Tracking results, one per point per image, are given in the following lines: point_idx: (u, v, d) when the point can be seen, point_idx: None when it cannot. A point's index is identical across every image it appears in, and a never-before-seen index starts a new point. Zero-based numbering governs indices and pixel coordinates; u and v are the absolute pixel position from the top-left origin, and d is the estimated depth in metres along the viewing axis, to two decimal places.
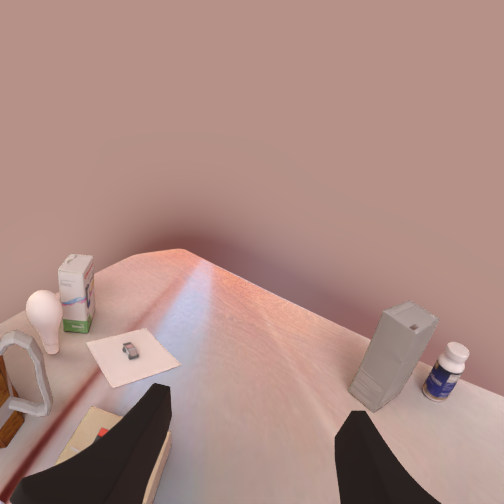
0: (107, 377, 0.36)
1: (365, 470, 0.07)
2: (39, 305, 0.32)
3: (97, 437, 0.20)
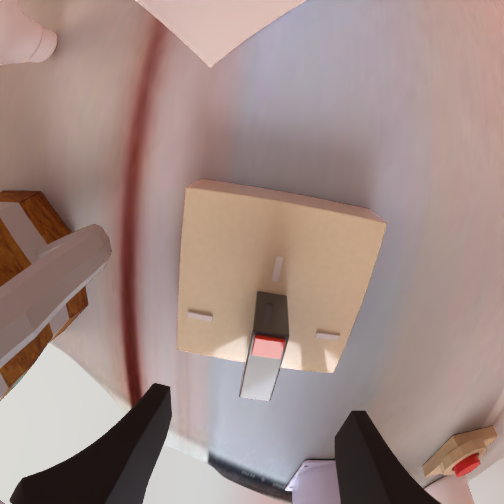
0: (187, 40, 0.13)
1: (365, 470, 0.07)
2: None
3: (251, 355, 0.13)
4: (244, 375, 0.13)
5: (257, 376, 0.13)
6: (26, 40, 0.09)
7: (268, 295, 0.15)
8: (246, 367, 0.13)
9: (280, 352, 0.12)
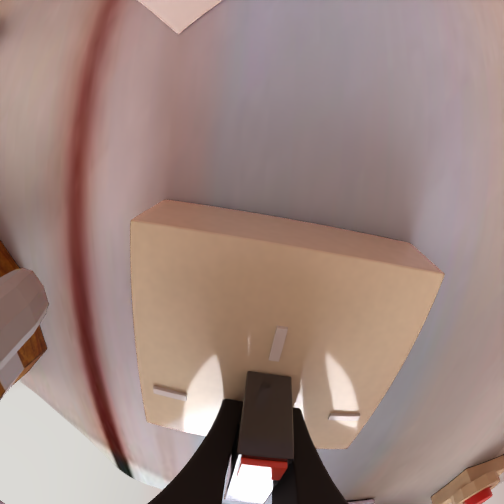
0: (147, 1, 0.08)
1: (287, 471, 0.07)
2: None
3: None
4: (229, 485, 0.08)
5: (246, 488, 0.08)
6: None
7: (263, 380, 0.09)
8: (231, 481, 0.07)
9: (279, 475, 0.07)
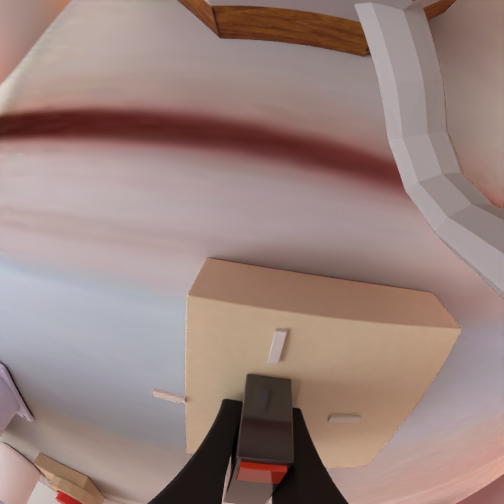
0: None
1: None
2: None
3: None
4: (228, 489, 0.08)
5: (246, 491, 0.07)
6: None
7: (262, 382, 0.09)
8: (230, 484, 0.07)
9: (279, 479, 0.07)
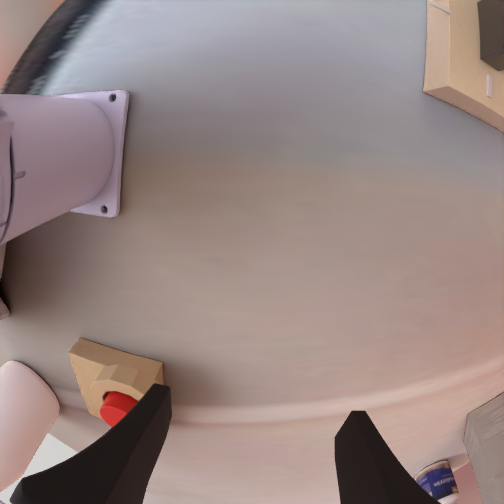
0: None
1: (365, 470, 0.07)
2: None
3: None
4: None
5: None
6: None
7: (486, 5, 0.07)
8: None
9: None
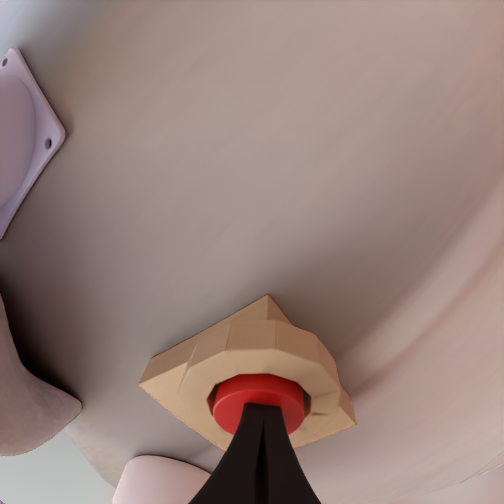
0: None
1: (263, 469, 0.07)
2: None
3: None
4: None
5: None
6: None
7: None
8: None
9: None
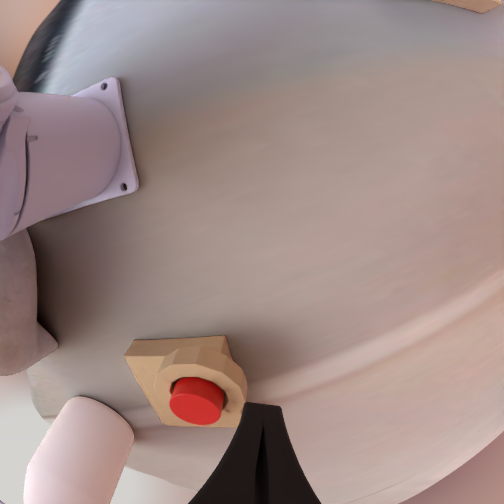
0: None
1: (263, 469, 0.07)
2: None
3: None
4: None
5: None
6: None
7: None
8: None
9: None
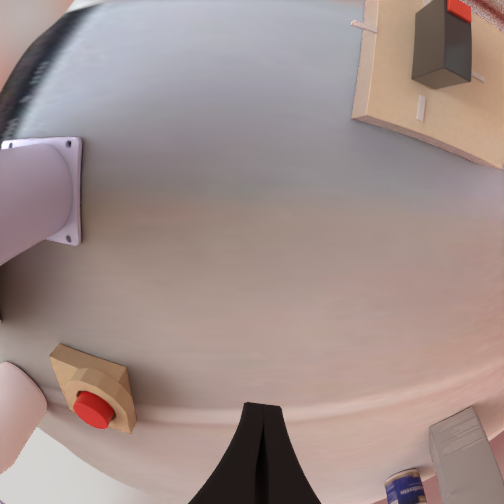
0: None
1: (263, 469, 0.07)
2: None
3: (448, 14, 0.07)
4: (445, 36, 0.08)
5: (456, 40, 0.08)
6: None
7: (427, 15, 0.10)
8: (446, 26, 0.07)
9: (469, 14, 0.07)
